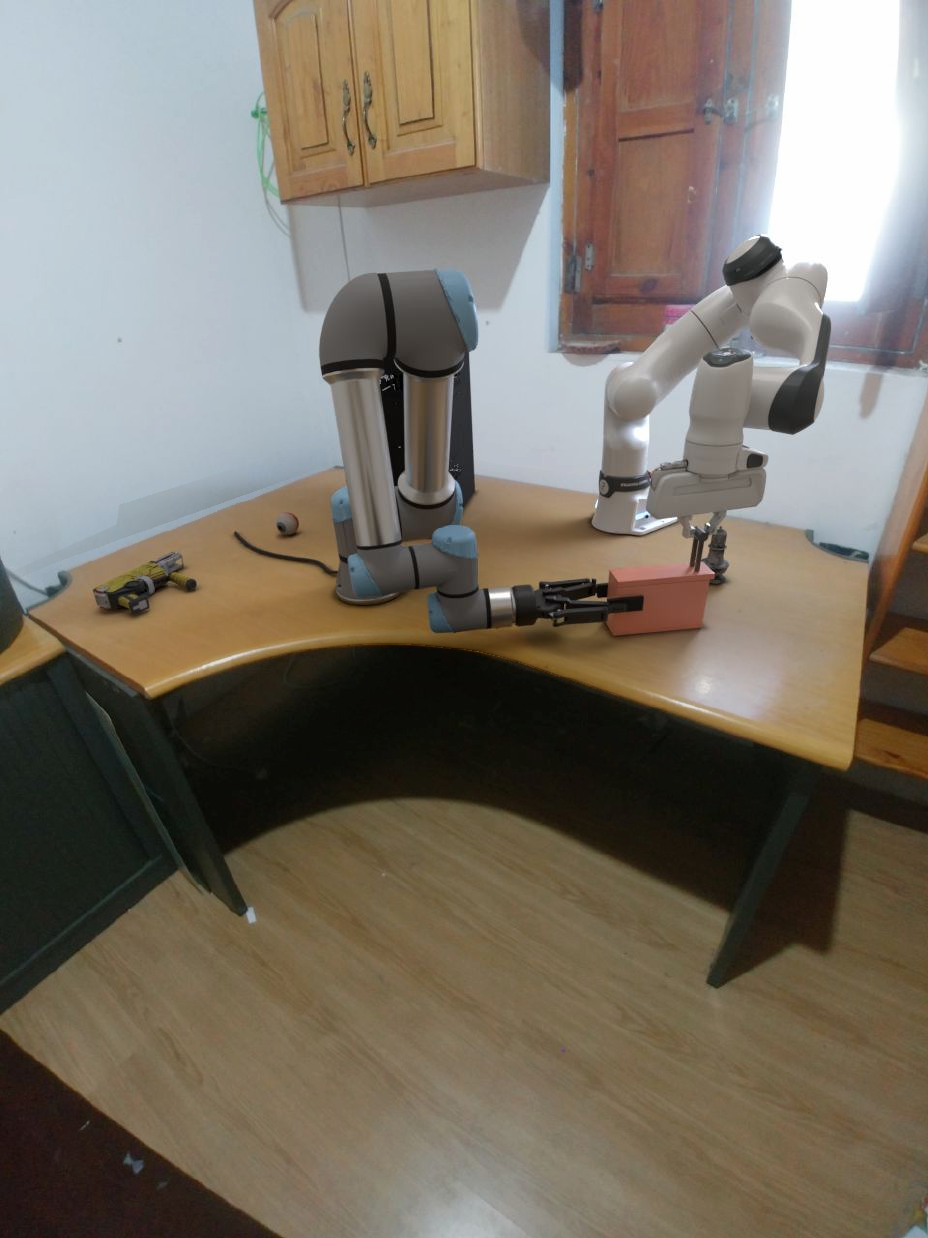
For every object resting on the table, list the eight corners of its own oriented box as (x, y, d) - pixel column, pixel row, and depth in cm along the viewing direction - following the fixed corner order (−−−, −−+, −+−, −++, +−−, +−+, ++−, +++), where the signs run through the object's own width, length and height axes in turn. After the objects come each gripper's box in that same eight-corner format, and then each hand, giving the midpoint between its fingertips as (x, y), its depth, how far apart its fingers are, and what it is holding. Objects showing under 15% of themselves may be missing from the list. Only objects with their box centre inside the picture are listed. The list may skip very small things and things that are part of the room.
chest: (689, 613, 117) (697, 567, 112) (701, 627, 113) (709, 579, 108) (605, 621, 117) (608, 574, 112) (613, 635, 112) (617, 587, 107)
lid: (701, 566, 112) (708, 522, 108) (714, 579, 108) (722, 533, 103) (608, 574, 112) (612, 530, 107) (617, 587, 107) (621, 541, 103)
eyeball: (273, 537, 164) (268, 516, 161) (287, 528, 169) (282, 508, 166) (291, 539, 161) (286, 518, 158) (305, 530, 166) (301, 510, 163)
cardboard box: (444, 537, 157) (431, 349, 135) (371, 534, 162) (346, 352, 139) (475, 491, 189) (468, 332, 166) (413, 489, 193) (398, 335, 171)
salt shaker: (728, 584, 127) (739, 531, 121) (699, 583, 128) (707, 530, 122) (724, 572, 132) (733, 520, 126) (695, 571, 133) (703, 519, 127)
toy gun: (220, 560, 144) (169, 549, 148) (142, 602, 124) (86, 589, 128) (223, 577, 146) (173, 566, 150) (147, 622, 126) (91, 608, 130)
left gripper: (505, 601, 120) (619, 590, 121) (521, 650, 104) (652, 638, 105) (504, 566, 116) (622, 556, 117) (520, 613, 100) (657, 600, 101)
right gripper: (662, 469, 95) (652, 550, 102) (778, 455, 98) (761, 534, 105) (643, 459, 100) (636, 536, 107) (754, 446, 104) (739, 522, 110)
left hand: (636, 595), depth 111 cm, fingers closed on chest, 5 cm apart
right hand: (699, 535), depth 106 cm, fingers open, 3 cm apart
